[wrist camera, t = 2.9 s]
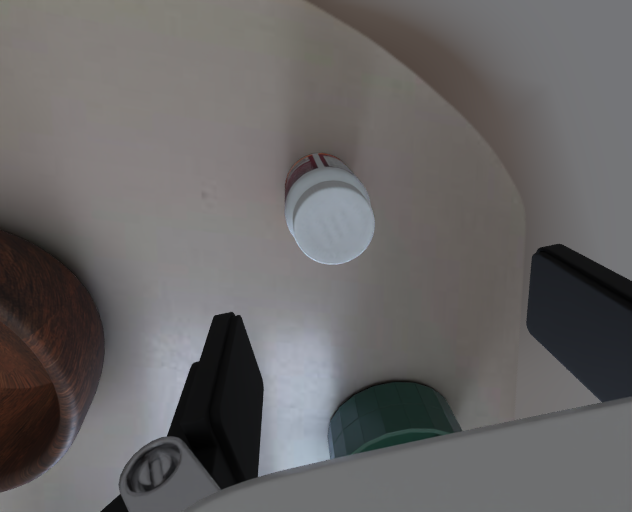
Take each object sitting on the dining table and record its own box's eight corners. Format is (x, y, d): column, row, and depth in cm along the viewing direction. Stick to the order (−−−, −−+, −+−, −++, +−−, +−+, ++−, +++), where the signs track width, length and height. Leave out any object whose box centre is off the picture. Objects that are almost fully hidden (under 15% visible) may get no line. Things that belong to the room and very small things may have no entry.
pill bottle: (289, 221, 33) (289, 277, 23) (281, 154, 30) (278, 183, 20) (353, 215, 33) (382, 268, 23) (351, 148, 31) (383, 174, 20)
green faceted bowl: (448, 367, 42) (476, 415, 36) (452, 454, 49) (476, 507, 42) (316, 394, 42) (322, 446, 36) (339, 476, 49) (346, 533, 43)
